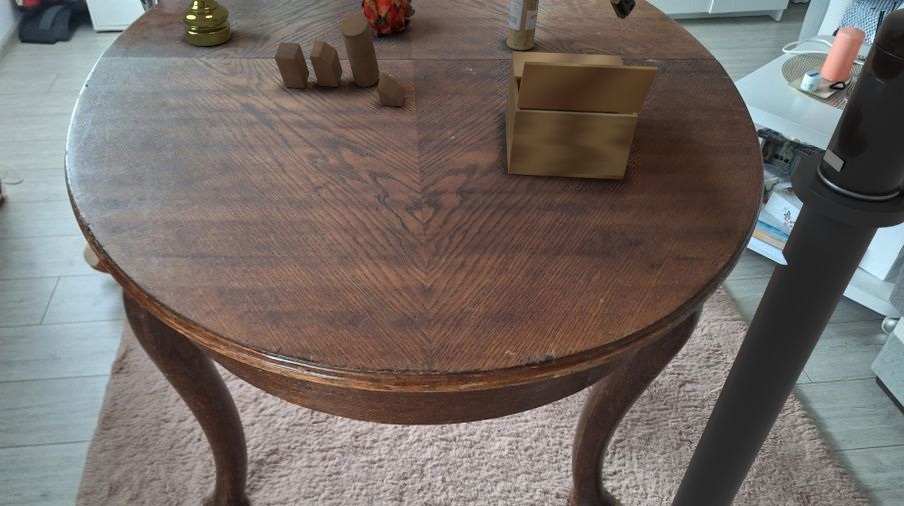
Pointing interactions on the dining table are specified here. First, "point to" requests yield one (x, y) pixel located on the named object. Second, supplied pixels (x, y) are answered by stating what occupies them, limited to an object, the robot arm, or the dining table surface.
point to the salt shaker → (206, 23)
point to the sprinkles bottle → (522, 24)
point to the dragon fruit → (387, 15)
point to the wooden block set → (329, 63)
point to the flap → (584, 86)
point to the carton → (565, 130)
